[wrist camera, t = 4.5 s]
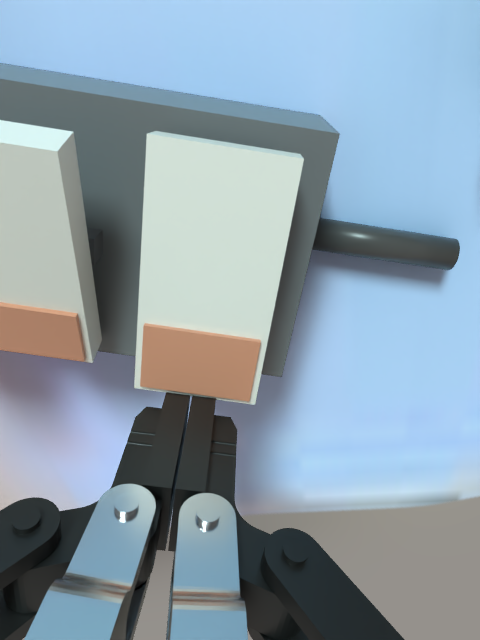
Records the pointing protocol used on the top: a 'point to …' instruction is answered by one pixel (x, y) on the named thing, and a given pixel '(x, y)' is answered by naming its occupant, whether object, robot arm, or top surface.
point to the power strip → (129, 173)
